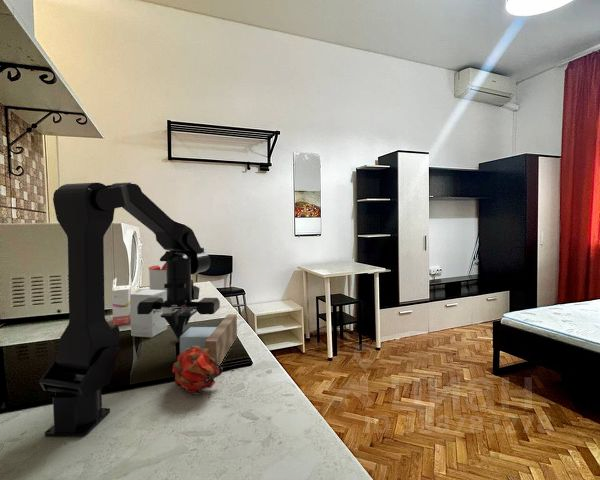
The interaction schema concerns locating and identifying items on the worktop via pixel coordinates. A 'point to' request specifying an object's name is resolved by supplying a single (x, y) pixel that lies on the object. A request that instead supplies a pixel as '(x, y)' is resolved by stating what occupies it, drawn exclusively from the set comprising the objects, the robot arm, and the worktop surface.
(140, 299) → the supplement box
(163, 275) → the citrus juicer
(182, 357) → the dragon fruit
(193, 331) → the slate block
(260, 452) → the worktop surface
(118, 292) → the ink cartridge box
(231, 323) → the walnut board
